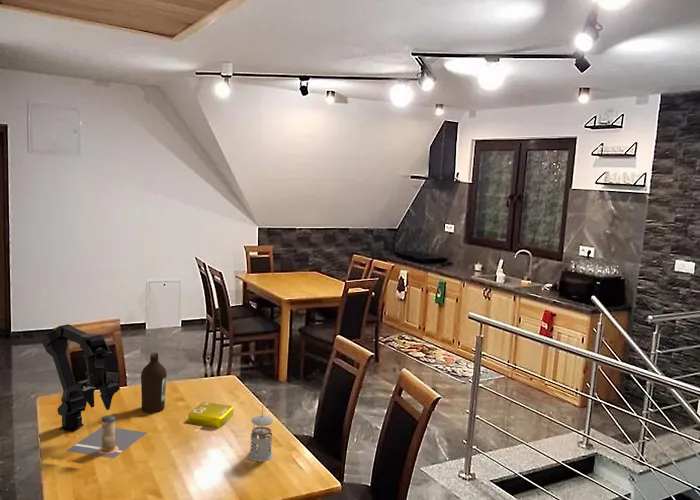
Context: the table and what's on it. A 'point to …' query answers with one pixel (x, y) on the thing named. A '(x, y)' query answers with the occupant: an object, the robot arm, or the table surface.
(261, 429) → the french press
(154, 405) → the olive oil
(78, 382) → the robot arm
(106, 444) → the beige cylindrical canister
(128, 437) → the subfloor panel
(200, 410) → the element tile
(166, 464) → the table surface
